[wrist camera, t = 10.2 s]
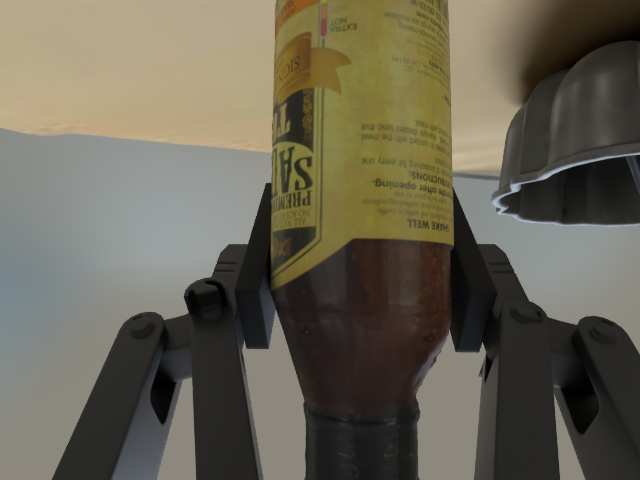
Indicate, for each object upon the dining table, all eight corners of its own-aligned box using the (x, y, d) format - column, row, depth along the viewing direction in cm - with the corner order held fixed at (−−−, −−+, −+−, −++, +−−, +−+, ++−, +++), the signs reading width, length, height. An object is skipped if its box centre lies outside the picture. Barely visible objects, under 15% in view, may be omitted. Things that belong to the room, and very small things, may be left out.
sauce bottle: (270, -116, 12) (247, 629, 10) (476, -106, 13) (510, 623, 10) (281, 25, 19) (269, 495, 16) (417, 30, 19) (428, 494, 16)
